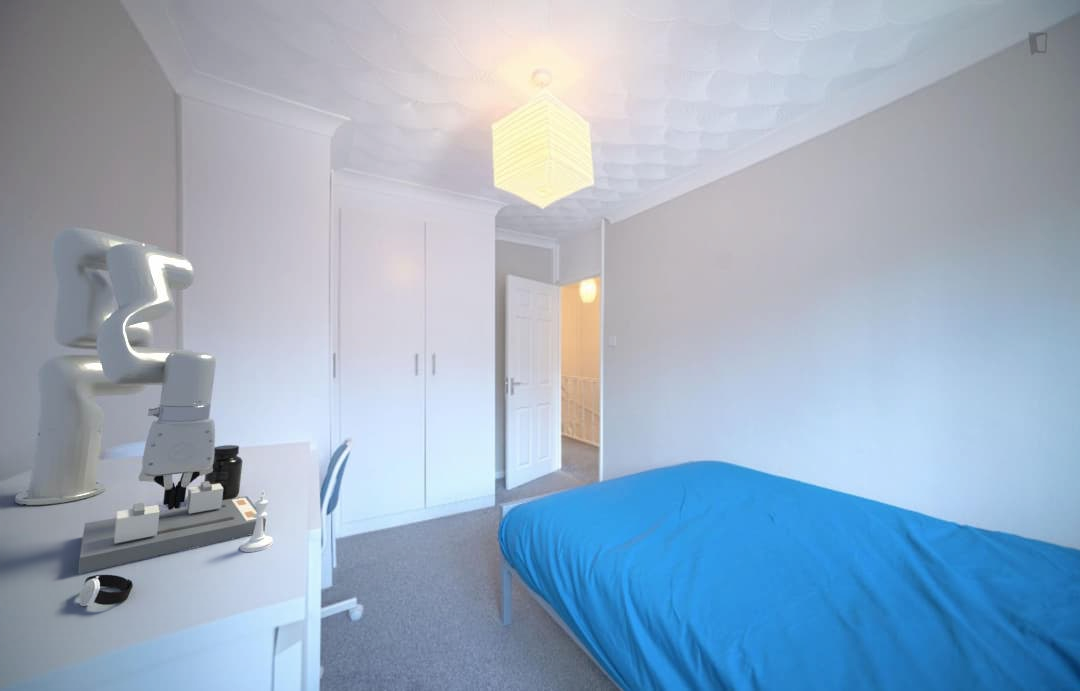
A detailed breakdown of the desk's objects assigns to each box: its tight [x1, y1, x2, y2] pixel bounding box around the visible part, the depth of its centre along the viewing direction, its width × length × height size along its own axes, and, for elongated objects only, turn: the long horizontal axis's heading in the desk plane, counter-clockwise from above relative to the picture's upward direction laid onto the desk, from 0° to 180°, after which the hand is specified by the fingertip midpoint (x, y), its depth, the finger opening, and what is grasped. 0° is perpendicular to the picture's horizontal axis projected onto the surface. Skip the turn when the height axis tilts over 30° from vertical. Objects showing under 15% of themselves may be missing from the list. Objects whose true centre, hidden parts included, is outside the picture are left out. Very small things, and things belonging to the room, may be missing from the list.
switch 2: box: [185, 481, 223, 514], centre depth 79 cm, size 4×5×5 cm
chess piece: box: [239, 490, 274, 553], centre depth 72 cm, size 5×5×10 cm
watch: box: [78, 574, 134, 607], centre depth 54 cm, size 8×5×4 cm, turn 67°
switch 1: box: [114, 502, 161, 544], centre depth 66 cm, size 4×5×5 cm
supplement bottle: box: [203, 444, 243, 500], centre depth 92 cm, size 7×7×12 cm
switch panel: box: [77, 495, 267, 575], centre depth 73 cm, size 16×24×3 cm, turn 138°
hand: (173, 506), depth 75 cm, fingers closed
